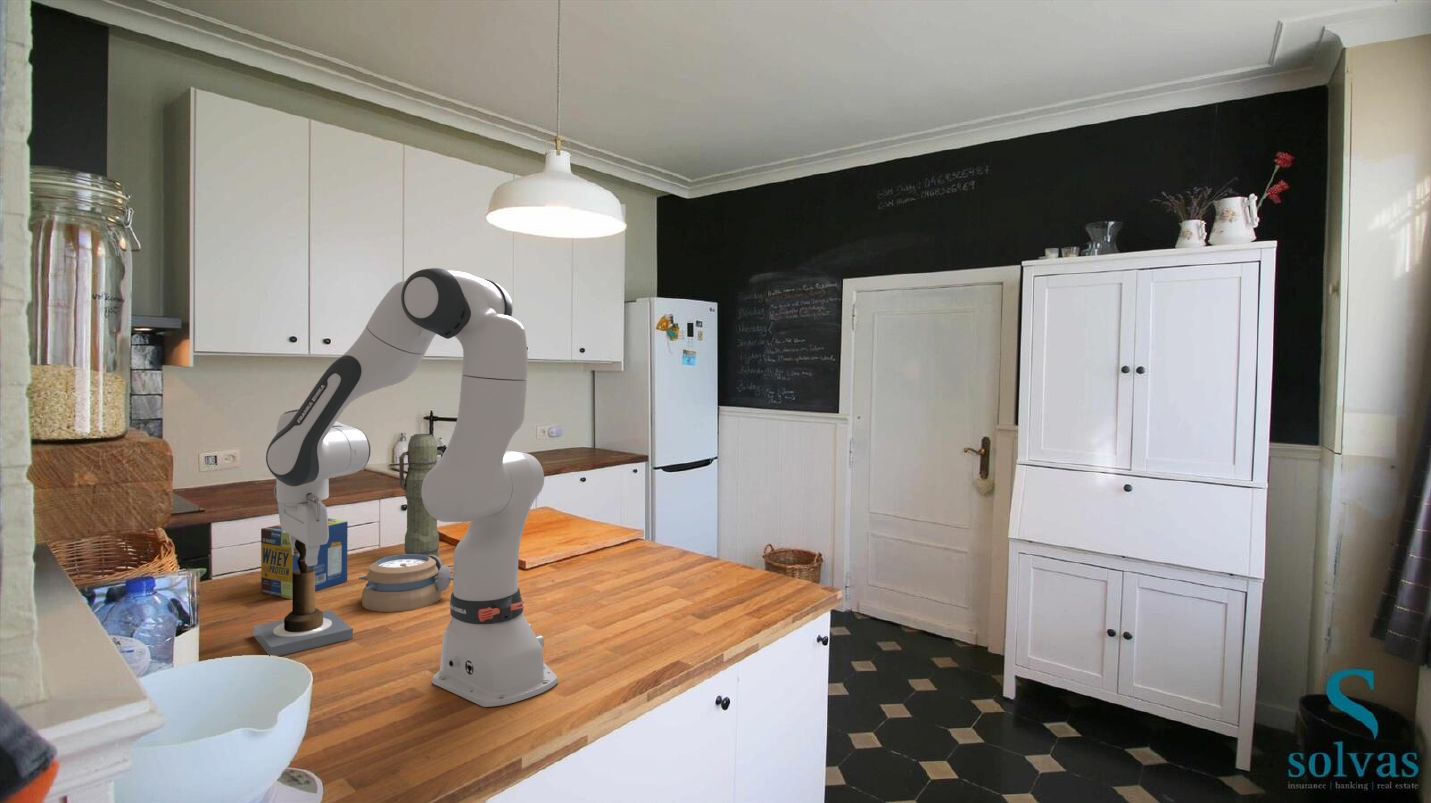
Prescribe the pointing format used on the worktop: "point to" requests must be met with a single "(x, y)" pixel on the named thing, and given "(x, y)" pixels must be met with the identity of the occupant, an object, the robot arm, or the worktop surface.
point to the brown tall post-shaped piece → (303, 597)
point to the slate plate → (301, 635)
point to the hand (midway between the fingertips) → (304, 560)
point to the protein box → (282, 562)
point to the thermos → (419, 495)
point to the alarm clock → (405, 582)
